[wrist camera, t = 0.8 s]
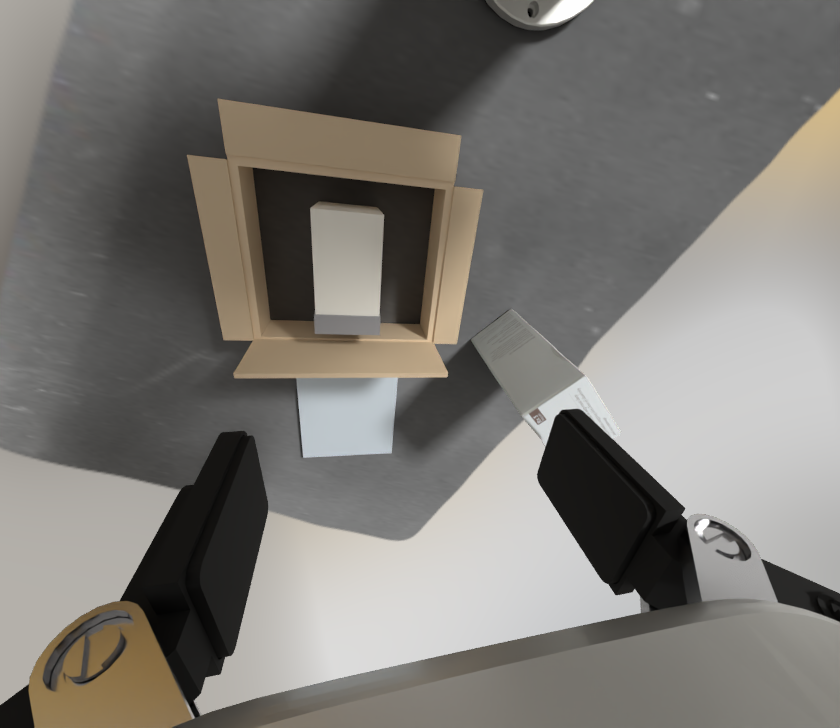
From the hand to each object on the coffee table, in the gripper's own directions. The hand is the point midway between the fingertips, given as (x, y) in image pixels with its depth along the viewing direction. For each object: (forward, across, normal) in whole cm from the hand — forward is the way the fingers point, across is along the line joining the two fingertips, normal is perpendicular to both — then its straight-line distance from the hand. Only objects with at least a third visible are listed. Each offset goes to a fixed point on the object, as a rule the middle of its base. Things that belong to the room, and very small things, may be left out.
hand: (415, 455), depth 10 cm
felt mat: (+26, +2, +16) cm, 31 cm away
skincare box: (+25, -16, +8) cm, 31 cm away
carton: (+25, +2, -3) cm, 25 cm away
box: (+25, +2, -1) cm, 25 cm away
